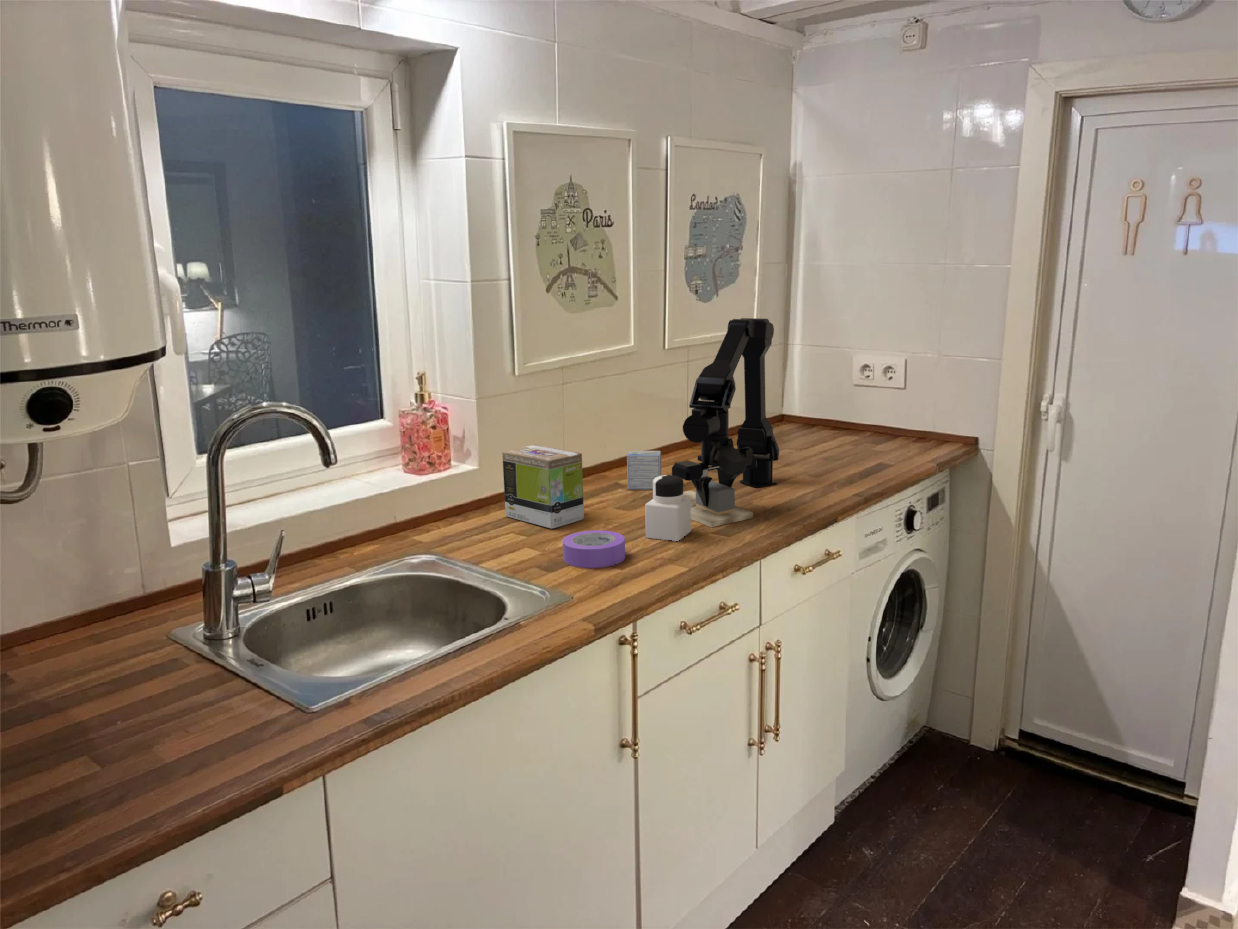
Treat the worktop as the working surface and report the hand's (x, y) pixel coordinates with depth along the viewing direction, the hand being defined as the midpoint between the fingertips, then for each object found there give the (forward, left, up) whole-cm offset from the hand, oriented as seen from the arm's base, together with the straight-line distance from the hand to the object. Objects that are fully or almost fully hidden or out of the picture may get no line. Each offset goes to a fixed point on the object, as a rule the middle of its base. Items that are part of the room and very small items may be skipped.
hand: (714, 504), depth 201 cm
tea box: (+31, -19, -3) cm, 37 cm away
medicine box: (0, -27, -3) cm, 27 cm away
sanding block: (0, 0, -1) cm, 1 cm away
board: (+1, -4, -2) cm, 5 cm away
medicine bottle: (+16, +6, -3) cm, 17 cm away
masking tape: (+35, +9, -3) cm, 36 cm away
